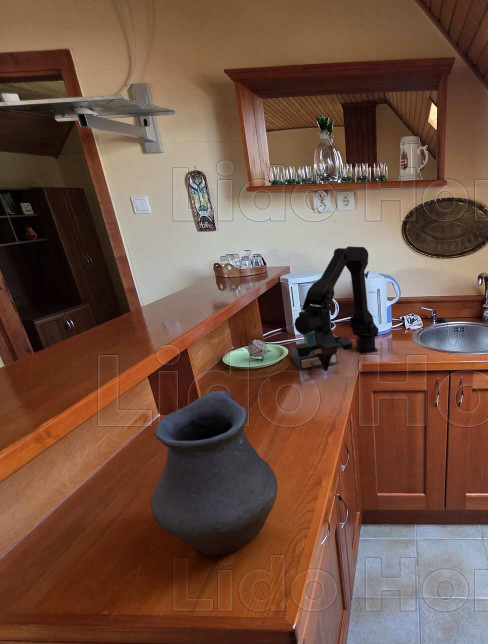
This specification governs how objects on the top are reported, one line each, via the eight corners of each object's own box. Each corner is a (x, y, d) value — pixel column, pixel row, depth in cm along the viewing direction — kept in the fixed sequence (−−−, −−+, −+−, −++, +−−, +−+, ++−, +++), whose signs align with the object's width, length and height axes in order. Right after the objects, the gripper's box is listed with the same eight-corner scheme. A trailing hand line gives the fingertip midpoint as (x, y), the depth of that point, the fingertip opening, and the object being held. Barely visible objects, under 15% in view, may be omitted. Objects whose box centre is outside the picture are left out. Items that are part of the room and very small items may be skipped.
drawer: (340, 366, 148) (340, 359, 147) (306, 372, 144) (305, 365, 143) (325, 351, 163) (324, 345, 162) (293, 357, 158) (293, 350, 157)
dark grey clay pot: (143, 583, 67) (96, 451, 57) (193, 495, 87) (164, 385, 77) (273, 575, 68) (249, 443, 58) (292, 489, 88) (277, 380, 77)
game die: (266, 367, 162) (279, 347, 159) (250, 367, 154) (264, 345, 151) (251, 352, 164) (264, 332, 162) (236, 352, 157) (249, 330, 154)
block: (316, 346, 158) (315, 328, 155) (320, 350, 154) (318, 331, 151) (305, 348, 156) (303, 330, 153) (308, 352, 153) (306, 333, 150)
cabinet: (336, 363, 154) (335, 351, 152) (300, 369, 149) (299, 358, 147) (325, 351, 165) (324, 341, 164) (291, 357, 160) (289, 346, 158)
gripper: (300, 336, 127) (305, 384, 133) (357, 328, 133) (359, 373, 140) (291, 327, 136) (296, 372, 142) (345, 320, 143) (348, 363, 149)
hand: (325, 370), depth 143 cm, fingers closed
